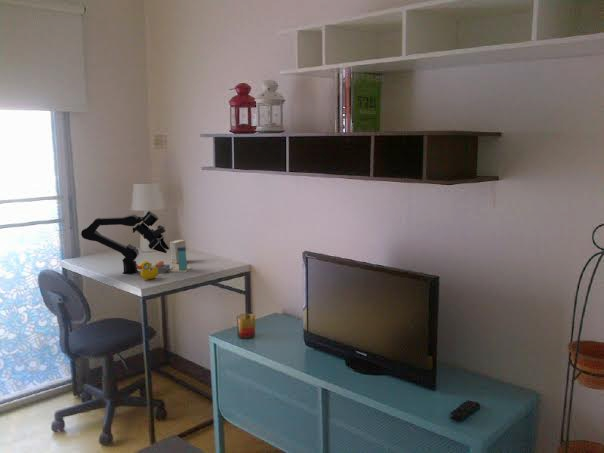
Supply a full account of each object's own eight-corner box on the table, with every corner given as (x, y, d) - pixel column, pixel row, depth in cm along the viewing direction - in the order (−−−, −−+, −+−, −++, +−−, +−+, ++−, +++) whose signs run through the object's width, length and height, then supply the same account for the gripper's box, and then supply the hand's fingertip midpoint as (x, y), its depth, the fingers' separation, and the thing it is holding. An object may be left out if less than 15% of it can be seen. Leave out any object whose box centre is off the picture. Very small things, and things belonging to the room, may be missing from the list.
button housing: (150, 272, 308) (150, 267, 308) (156, 269, 316) (156, 264, 315) (163, 273, 307) (163, 267, 306) (169, 269, 314) (169, 264, 314)
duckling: (139, 282, 289) (137, 263, 287) (135, 280, 293) (134, 261, 292) (160, 278, 295) (158, 260, 293) (156, 276, 299) (155, 258, 298)
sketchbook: (167, 271, 309) (166, 271, 309) (174, 267, 319) (174, 266, 319) (185, 272, 307) (185, 271, 307) (192, 267, 317) (192, 267, 317)
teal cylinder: (178, 270, 311) (177, 247, 308) (179, 268, 315) (178, 246, 312) (186, 270, 311) (185, 247, 309) (187, 268, 315) (185, 245, 313)
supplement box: (181, 260, 337) (180, 239, 335) (186, 261, 334) (185, 240, 332) (170, 263, 330) (169, 241, 328) (176, 264, 327) (175, 242, 325)
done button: (154, 268, 309) (154, 262, 309) (158, 266, 313) (157, 260, 313) (162, 268, 308) (161, 262, 308) (165, 266, 313) (164, 260, 312)
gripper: (153, 224, 298) (175, 243, 301) (158, 219, 316) (179, 237, 319) (139, 239, 298) (161, 258, 301) (145, 233, 317) (166, 251, 320)
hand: (167, 250), depth 310 cm, fingers open, 9 cm apart
